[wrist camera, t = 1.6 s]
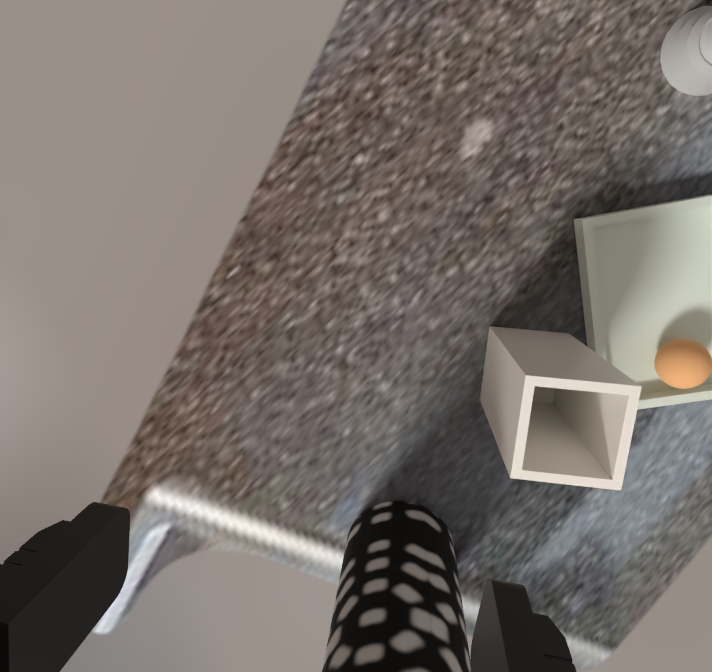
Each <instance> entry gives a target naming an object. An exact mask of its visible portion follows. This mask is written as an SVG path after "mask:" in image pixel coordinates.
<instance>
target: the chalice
mask: <svg viewBox="0 0 712 672" xmlns="http://www.w3.org/2000/svg"><path fill="white" fill-rule="evenodd" d="M660 61H661V66H662V70H663V74H664V75H665V77H666V79H667V80H668V82H669V83H670V85H672V86H673V87H674V88H676V89H677V90H678V91H680V92H682V93H685V94H689V95H692V96H700V95H709V94H712V6H701V7H699V8H696V9H694V10H691V11H688V12H687V13H686V14H684V15H683V16H682V17H680V18H679V19H678V20H676V22H675V23H674V24H673V26H672V27H671V28H670V30H669V31H668V32H667V34H666V37H665V39H664V42H663V44H662V47H661V58H660Z"/></svg>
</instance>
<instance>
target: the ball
mask: <svg viewBox="0 0 712 672" xmlns="http://www.w3.org/2000/svg"><path fill="white" fill-rule="evenodd" d="M654 365H655V370H656V372H657V374H658V376H659V377H660V378H661V380H662V381H664V382H665V383H666V384H668V385H670V386H672V387H675V388H680V389H688V388H693V387H696V386H698V385H700V384H702V383H703V382H704V381H706V380H707V378H708V377H709V375H710V374H711V371H712V358H711V355H710V353H709V351H708V350H707V349H706V348H705V347H704V346H703V345H701V344H700V343H698V342H696V341H693V340H690V339H676V340H672V341H670V342H668V343H666V344H664V345H663V346H662V347H661V348H660V349H659V350H658V352H657V354H656V356H655V361H654Z"/></svg>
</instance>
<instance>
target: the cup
mask: <svg viewBox="0 0 712 672" xmlns="http://www.w3.org/2000/svg"><path fill="white" fill-rule="evenodd" d="M641 388H642V386H640V385H639V384H638V383H636V382H635V381H634V380H632V379H631V378H630V377H628V376H627V375H625V374H624V373H623V372H621V371H620V370H619V369H617V368H616V367H614V366H613V365H612V364H610V363H609V362H608V361H606V360H605V359H603V358H602V357H601V356H599V355H598V354H597V353H595V352H594V351H592V350H591V349H590V348H588V347H587V346H586V345H584V344H583V343H582V342H580V341H579V340H577V339H576V338H575V337H573V336H572V335H571V334H569V333H559V332H548V331H537V330H526V329H515V328H504V327H493V326H489V334H488V341H487V349H486V357H485V364H484V372H483V380H482V387H481V395H480V402H481V404H482V407H483V409H484V412H485V414H486V417H487V420H488V422H489V425H490V427H491V430H492V432H493V435H494V438H495V440H496V443H497V445H498V448H499V450H500V453H501V456H502V458H503V461H504V463H505V466H506V468H507V471H508V473H509V476H510V478H514V479H523V480H532V481H541V482H550V483H559V484H568V485H577V486H586V487H595V488H604V489H613V490H621V488H622V483H623V478H624V473H625V468H626V463H627V458H628V453H629V448H630V443H631V438H632V433H633V428H634V423H635V418H636V413H637V408H638V403H639V398H640V393H641Z"/></svg>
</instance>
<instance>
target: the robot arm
mask: <svg viewBox="0 0 712 672" xmlns="http://www.w3.org/2000/svg"><path fill="white" fill-rule="evenodd" d="M129 531H130V513H129V510H128V509H127V508H123V507H118V506H113V505H108V504H103V503H97V502H93V503H91V504H90V505H88V506H87V507H86V508H85V509H84V510H83V511H82V512H80V513H79V514H78V515H77V516H76V517H75V518H74V519H73V520H72V521H71V522H69V521H64V520H62V521H60V522H58V523H56V524H54V525H52V526H50V527H47V528H45V529H43V530H41V531H39V532H38V533H37V534H35V535H34V536H33V537H32V538H30V539H29V540H28V541H27V542H26V543H25V544H23V545H22V546H21V547H20V549H19V551H15V552H14V553H13V554H12V555H11V556H9V557H8V558H7V559H6V560H5V561H4V563H3V565H1V564H0V672H60V670H61V669H62V668H63V667H64V665H65V664H66V663H67V661H68V660H69V659H70V658H71V656H72V655H73V654H74V652H75V651H76V650H77V648H78V647H79V646H80V645H81V643H82V642H83V641H84V639H85V638H86V637H87V635H88V634H89V633H90V632H91V630H92V629H93V628H94V626H95V625H96V624H97V623H98V621H99V620H100V619H101V617H102V616H103V615H104V613H105V612H106V611H107V610H108V608H109V607H110V606H111V604H112V603H113V602H114V600H115V599H116V598H117V596H118V595H119V593H120V591H121V589H122V587H123V584H124V581H125V578H126V575H127V570H128V553H129ZM471 672H576V669H575V666H574V664H572V657H571V654H570V651H569V648H568V645H567V642H566V639H565V637H564V636H563V634H562V633H561V632H560V631H559V629H558V628H557V627H556V626H555V624H554V623H553V622H552V620H551V619H550V618H549V617H548V616H545V615H540V614H535V613H532V609H531V606H530V602H529V599H528V595H527V591H526V588H525V587H524V585H520V584H515V583H510V582H505V581H500V580H495V579H488V580H487V581H486V584H485V588H484V592H483V596H482V600H481V604H480V609H479V613H478V617H477V621H476V626H475V630H474V634H473V639H472V646H471Z"/></svg>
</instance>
